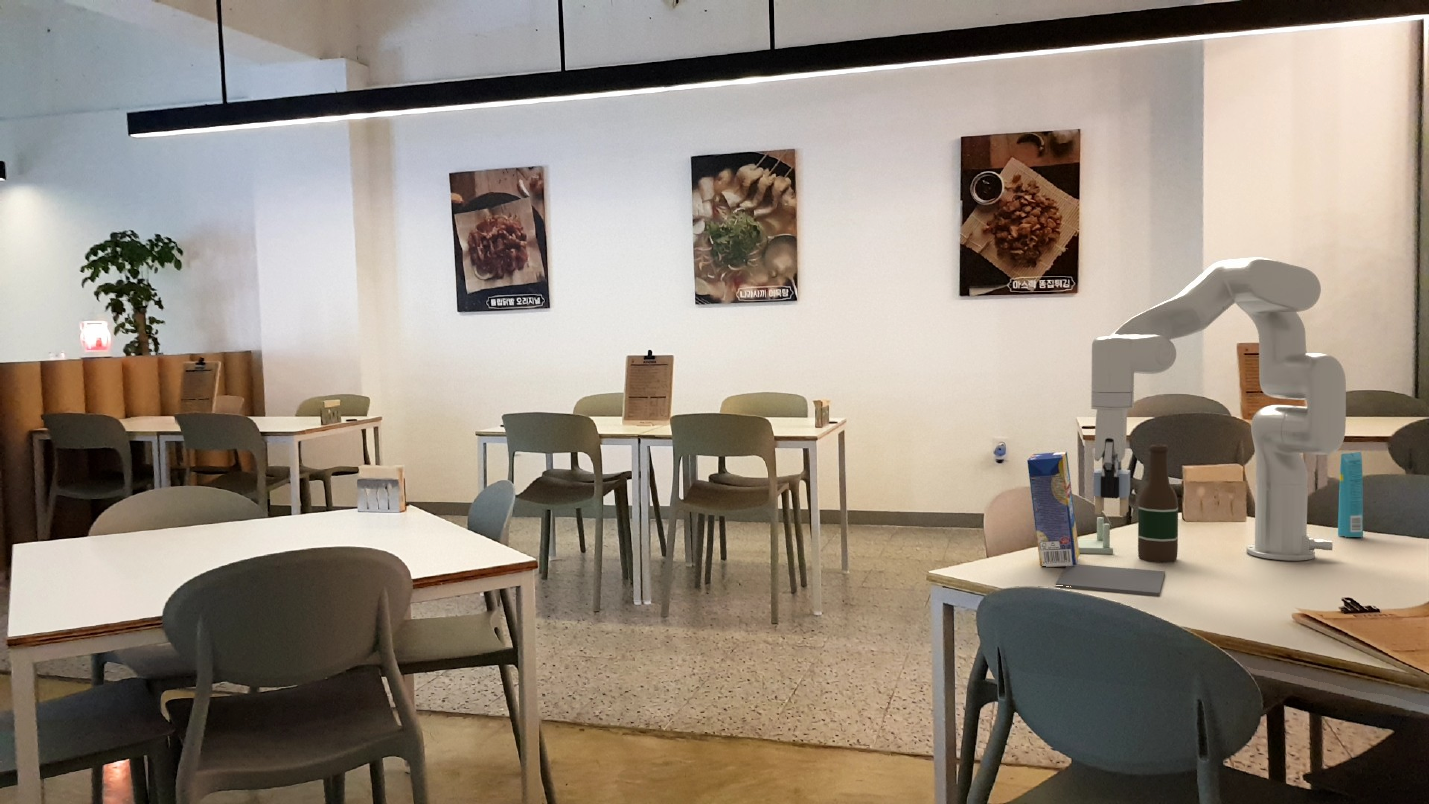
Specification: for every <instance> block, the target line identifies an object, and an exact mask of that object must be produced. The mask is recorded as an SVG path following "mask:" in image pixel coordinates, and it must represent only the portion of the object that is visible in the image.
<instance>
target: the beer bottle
mask: <svg viewBox="0 0 1429 804" xmlns="http://www.w3.org/2000/svg"><path fill="white" fill-rule="evenodd" d="M1148 451H1150V454H1149V456H1150V457H1149V470H1148V479H1147V484H1145V486H1144V487H1143V489H1142V490H1141V493H1140V494H1139V497H1138V507H1137V508H1138V510H1137V511H1138V512H1137V513H1138V514H1137V516H1138V518H1137V519H1138V521H1137V525H1138V526H1137V555H1138V558H1139V559H1141V560H1144V561H1145V562H1152V563H1160V562H1161V563H1162V564H1163V562H1164V563H1174V562H1175V561H1176V560H1177V558H1178V552H1179V551H1178V550H1179V549H1178V548H1179V546H1178V545H1179V541H1178V540H1179V528H1178V527H1179V500H1178V496H1177V493H1176V491H1175V489H1174V488H1173V486H1172V485H1171V484H1170V478H1169V467H1168V466H1169V465H1168V464H1169V463H1168V451H1169V447H1168V445H1167V444H1162V443H1161V444H1160V443H1159V444H1157V443H1156V444H1151V445H1150V446H1149V449H1148Z"/></svg>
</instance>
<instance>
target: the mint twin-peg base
mask: <svg viewBox="0 0 1429 804" xmlns="http://www.w3.org/2000/svg"><path fill="white" fill-rule="evenodd" d="M1104 519H1105V518H1104V517H1102V516H1101V517H1100V516H1099V517H1098V516H1097V517H1096V538H1078V537H1077V539H1078V547H1079V554H1097V555H1098V554H1101V555H1102V554H1104V555H1105V554H1106V555H1108V554H1109V555H1114V548H1113V546H1111V543H1110V542H1111V536H1110V535H1111V534H1110V533H1111V532H1110V531H1111V524H1110V523H1104V521H1105V520H1104Z"/></svg>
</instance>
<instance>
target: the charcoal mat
mask: <svg viewBox="0 0 1429 804" xmlns="http://www.w3.org/2000/svg"><path fill="white" fill-rule="evenodd" d="M1165 573H1166V572H1165V570H1155V569H1154V570H1152V569H1143V568H1142V569H1141V568H1130V567H1129V568H1128V567H1118V566H1117V567H1116V566H1114V567H1113V566H1106V565H1105V566H1103V565H1090V564H1080V563H1078V564H1077V563H1076V565H1075V566H1065V568H1064V570H1063V571H1062V573H1061V574H1060V575H1059V577H1058V579H1057V581H1056V582H1055V585H1063V586H1057V587H1056V588H1066V586H1069V587H1070V586H1071V587H1072V588H1071V589H1075V588H1080V589H1079V590H1088V591H1089V590H1090V591H1099V592H1107V593H1108V592H1111V593H1119V592H1120V593H1121V594H1132V595H1133V594H1134V595H1141V596H1142V595H1144V596H1151V597H1152V596H1155V597H1160V595H1161V591H1162V587H1163V583H1164V579H1165ZM1055 585H1054V586H1055ZM1066 589H1067V588H1066Z"/></svg>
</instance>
